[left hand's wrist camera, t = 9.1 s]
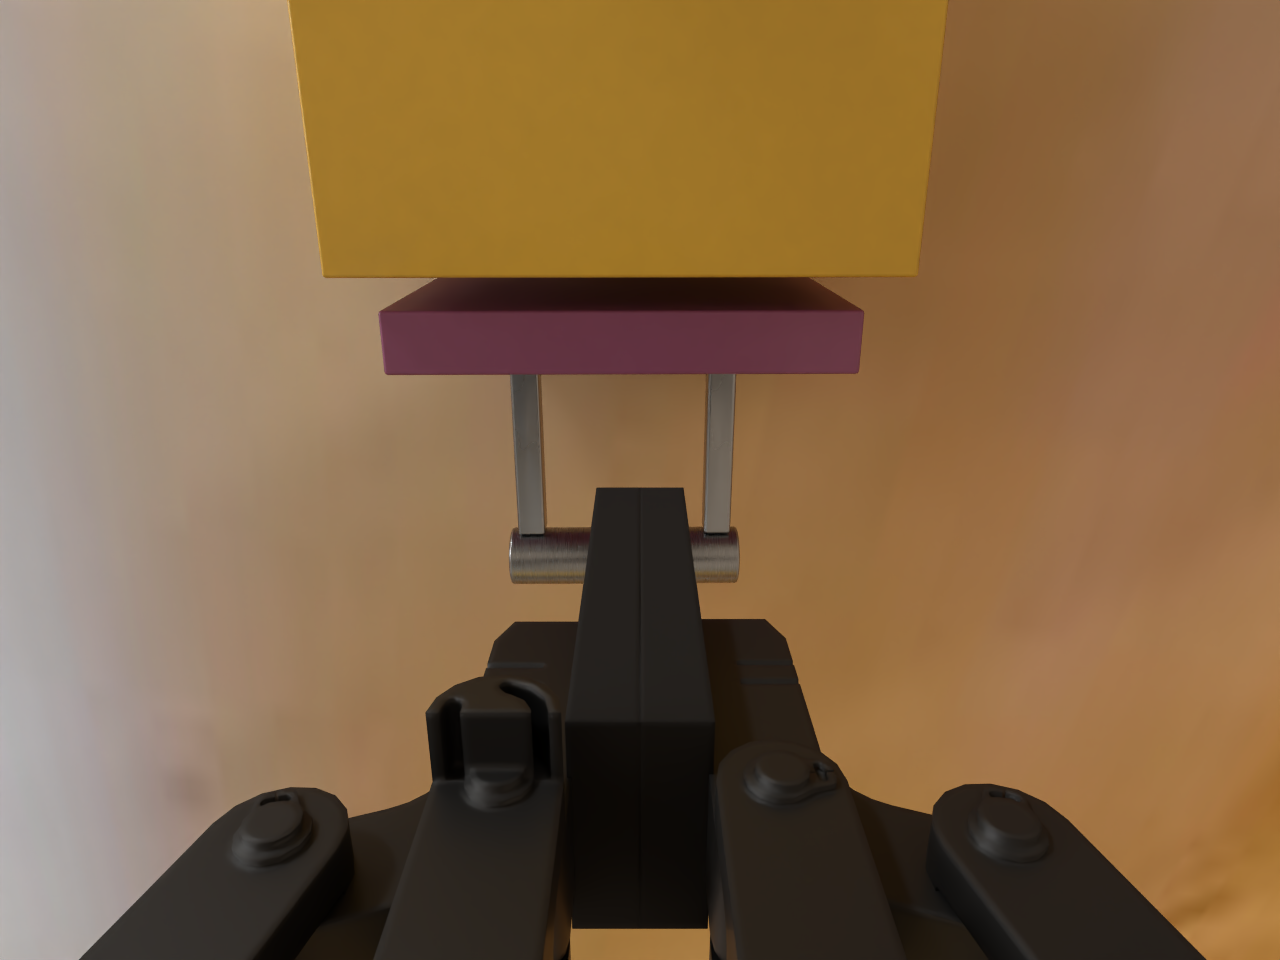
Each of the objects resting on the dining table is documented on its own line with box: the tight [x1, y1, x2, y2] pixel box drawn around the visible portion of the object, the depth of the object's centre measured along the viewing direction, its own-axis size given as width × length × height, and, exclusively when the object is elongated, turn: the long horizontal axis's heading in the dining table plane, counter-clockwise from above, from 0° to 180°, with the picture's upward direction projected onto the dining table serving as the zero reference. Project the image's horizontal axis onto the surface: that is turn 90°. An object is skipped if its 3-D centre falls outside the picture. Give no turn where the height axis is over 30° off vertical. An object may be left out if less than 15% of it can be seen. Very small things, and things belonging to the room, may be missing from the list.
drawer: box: [378, 277, 864, 584], centre depth 17 cm, size 23×9×6 cm, turn 0°
